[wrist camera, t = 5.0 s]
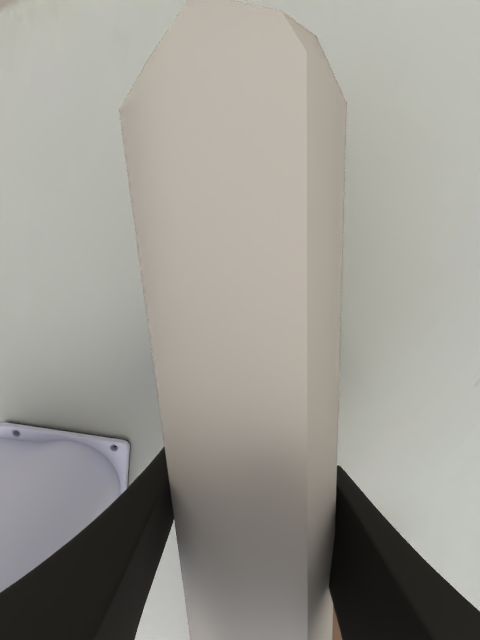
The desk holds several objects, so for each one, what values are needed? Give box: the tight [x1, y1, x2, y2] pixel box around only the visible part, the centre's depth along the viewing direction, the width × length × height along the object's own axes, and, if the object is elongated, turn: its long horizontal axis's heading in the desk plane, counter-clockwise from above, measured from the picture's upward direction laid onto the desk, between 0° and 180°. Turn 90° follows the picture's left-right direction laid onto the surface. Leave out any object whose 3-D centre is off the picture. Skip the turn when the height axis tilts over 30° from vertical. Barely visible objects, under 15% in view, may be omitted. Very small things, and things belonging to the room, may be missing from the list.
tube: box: [119, 0, 347, 640], centre depth 9 cm, size 5×5×25 cm
